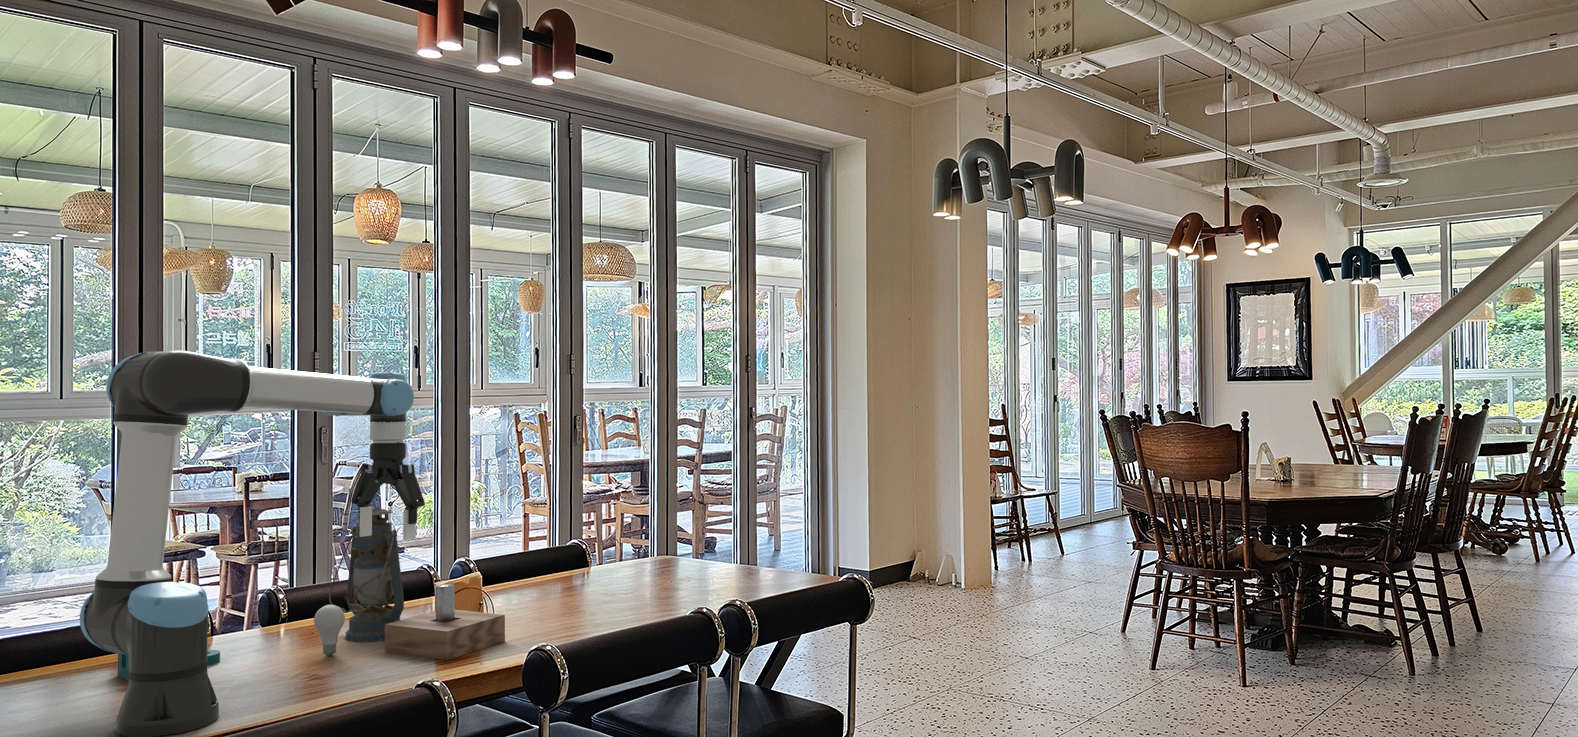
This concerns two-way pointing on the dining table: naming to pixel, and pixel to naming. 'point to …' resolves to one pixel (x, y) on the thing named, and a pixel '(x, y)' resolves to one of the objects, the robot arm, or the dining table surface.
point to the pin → (445, 603)
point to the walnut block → (444, 634)
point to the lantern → (373, 580)
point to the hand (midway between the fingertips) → (387, 537)
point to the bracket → (123, 662)
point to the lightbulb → (329, 626)
